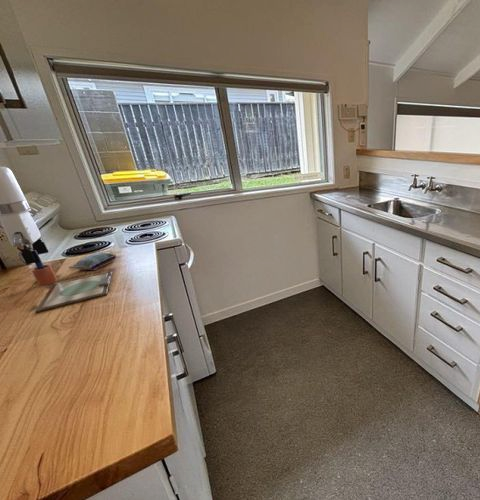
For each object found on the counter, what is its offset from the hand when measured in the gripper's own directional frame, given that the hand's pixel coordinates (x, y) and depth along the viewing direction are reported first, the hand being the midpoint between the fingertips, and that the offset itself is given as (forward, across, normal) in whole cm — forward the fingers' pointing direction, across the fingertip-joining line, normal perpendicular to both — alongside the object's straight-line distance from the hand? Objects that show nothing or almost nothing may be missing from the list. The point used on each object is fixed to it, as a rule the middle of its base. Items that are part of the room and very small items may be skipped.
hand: (38, 258), depth 94 cm
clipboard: (+9, +14, +9) cm, 19 cm away
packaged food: (+10, -7, +11) cm, 16 cm away
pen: (+9, 0, -1) cm, 9 cm away
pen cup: (+9, 0, -1) cm, 9 cm away
